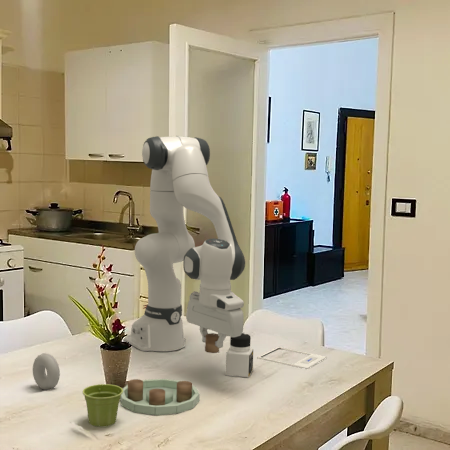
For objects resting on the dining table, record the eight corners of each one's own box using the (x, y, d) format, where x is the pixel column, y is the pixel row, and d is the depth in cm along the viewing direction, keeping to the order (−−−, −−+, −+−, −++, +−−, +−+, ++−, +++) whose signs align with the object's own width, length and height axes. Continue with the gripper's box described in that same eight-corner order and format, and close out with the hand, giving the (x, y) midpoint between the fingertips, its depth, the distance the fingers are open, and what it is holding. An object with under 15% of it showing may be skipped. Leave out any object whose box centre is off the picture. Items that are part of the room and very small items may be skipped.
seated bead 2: (145, 408, 163) (145, 391, 162) (158, 404, 166) (158, 387, 165) (155, 413, 160) (156, 395, 159) (168, 409, 163) (168, 391, 162)
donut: (62, 392, 175) (62, 356, 174) (51, 395, 173) (51, 359, 172) (40, 383, 182) (40, 348, 180) (29, 386, 179) (29, 351, 178)
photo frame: (307, 367, 201) (257, 356, 211) (307, 370, 201) (257, 359, 211) (326, 356, 213) (278, 346, 223) (326, 359, 213) (278, 349, 223)
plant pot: (85, 417, 159) (85, 383, 158) (123, 418, 159) (124, 383, 159) (79, 434, 149) (79, 397, 149) (120, 434, 150) (121, 398, 149)
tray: (105, 402, 169) (105, 390, 169) (164, 385, 183) (165, 374, 183) (153, 426, 155) (153, 413, 155) (213, 405, 169) (214, 393, 169)
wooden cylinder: (202, 350, 185) (202, 334, 184) (212, 347, 187) (213, 332, 187) (211, 353, 182) (212, 338, 181) (221, 351, 185) (222, 335, 184)
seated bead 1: (124, 398, 169) (124, 381, 169) (136, 394, 172) (137, 378, 171) (133, 402, 166) (134, 385, 166) (146, 399, 169) (146, 382, 169)
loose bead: (176, 397, 171) (177, 380, 171) (192, 397, 171) (192, 381, 171) (175, 402, 167) (176, 385, 167) (191, 403, 167) (191, 386, 167)
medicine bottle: (248, 377, 192) (250, 338, 190) (225, 375, 193) (226, 336, 192) (252, 370, 199) (254, 332, 197) (229, 368, 200) (231, 330, 199)
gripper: (182, 291, 188) (180, 337, 190) (232, 305, 174) (229, 356, 175) (198, 288, 192) (196, 334, 194) (248, 302, 178) (245, 351, 180)
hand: (212, 344), depth 184 cm, fingers closed on wooden cylinder, 4 cm apart
